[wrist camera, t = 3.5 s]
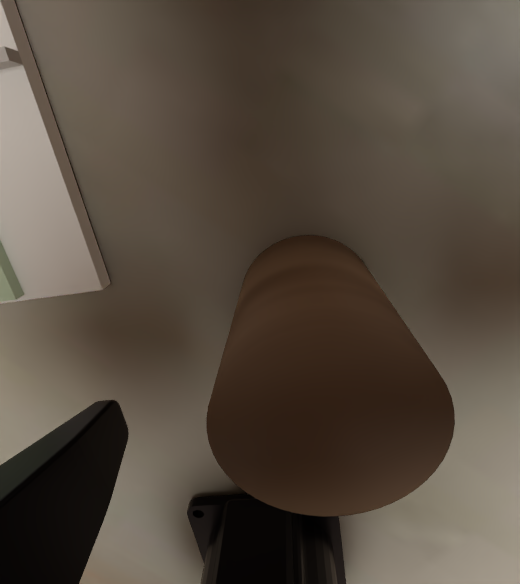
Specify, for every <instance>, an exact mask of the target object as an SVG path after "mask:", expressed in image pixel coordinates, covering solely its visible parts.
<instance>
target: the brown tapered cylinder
mask: <svg viewBox="0 0 520 584" xmlns="http://www.w3.org/2000/svg"><path fill="white" fill-rule="evenodd" d="M454 425H455V420H454V407H453V402H452V398H451V395H450V393H449V390H448V388H447V385H446V384H445V382H444V380H443V379H442V377H441V376H440V374H439V372H438V371H437V370H436V368H435V367H434V365H433V364H432V362H431V361H430V359H429V358H428V356H427V355H426V353H425V352H424V351H423V349H422V348H421V346H420V345H419V343H418V342H417V340H416V339H415V337H414V336H413V334H412V333H411V332H410V330H409V329H408V327H407V326H406V324H405V323H404V321H403V320H402V318H401V317H400V315H399V314H398V313H397V311H396V310H395V308H394V307H393V305H392V304H391V302H390V301H389V299H388V298H387V296H386V295H385V294H384V292H383V291H382V289H381V288H380V286H379V285H378V283H377V282H376V280H375V279H374V278H373V276H372V275H371V273H370V272H369V270H368V269H367V267H366V266H365V264H364V263H363V261H362V260H361V259H360V258H359V257H358V255H357V254H356V253H354V252H353V251H352V250H351V249H350V248H348V247H347V246H345V245H344V244H342V243H340V242H338V241H336V240H333V239H330V238H327V237H322V236H314V235H304V236H296V237H291V238H288V239H285V240H282V241H279V242H277V243H275V244H273V245H272V246H270V247H269V248H267V249H266V250H265V251H263V252H262V253H261V254H260V255H259V256H258V257H257V258H256V259H255V261H254V262H253V263H252V265H251V266H250V268H249V269H248V271H247V273H246V276H245V278H244V282H243V285H242V288H241V292H240V296H239V299H238V303H237V306H236V310H235V313H234V317H233V320H232V324H231V328H230V331H229V335H228V338H227V342H226V345H225V349H224V352H223V356H222V360H221V363H220V367H219V370H218V374H217V377H216V381H215V384H214V388H213V392H212V395H211V399H210V402H209V406H208V412H207V434H208V440H209V444H210V447H211V449H212V452H213V455H214V456H215V458H216V460H217V462H218V464H219V465H220V467H221V468H222V469H223V471H224V472H225V473H226V475H227V476H228V477H229V478H230V479H231V480H232V481H233V482H234V483H235V484H236V485H238V486H239V487H240V488H241V489H243V490H244V491H245V492H247V493H248V494H250V495H251V496H253V497H255V498H256V499H258V500H260V501H262V502H264V503H266V504H268V505H271V506H274V507H276V508H279V509H282V510H286V511H289V512H293V513H298V514H304V515H312V516H344V515H353V514H358V513H363V512H367V511H371V510H374V509H378V508H381V507H383V506H386V505H388V504H391V503H393V502H395V501H397V500H399V499H401V498H403V497H405V496H406V495H408V494H409V493H411V492H412V491H414V490H415V489H417V488H418V487H419V486H420V485H421V484H423V483H424V482H425V481H426V480H427V479H428V478H429V477H430V476H431V475H432V474H433V473H434V472H435V471H436V469H437V468H438V466H439V465H440V464H441V462H442V461H443V459H444V457H445V455H446V453H447V451H448V449H449V446H450V443H451V440H452V437H453V431H454Z"/></svg>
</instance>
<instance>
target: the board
mask: <svg viewBox="0 0 520 584" xmlns="http://www.w3.org/2000/svg"><path fill="white" fill-rule="evenodd" d="M109 284H111V283H110V280H109V277H108V274H107V271H106V268H105V265H104V262H103V259H102V256H101V253H100V250H99V247H98V244H97V242H96V239H95V236H94V233H93V230H92V227H91V224H90V221H89V218H88V215H87V212H86V209H85V206H84V203H83V200H82V198H81V195H80V192H79V189H78V186H77V183H76V180H75V177H74V174H73V171H72V168H71V165H70V162H69V159H68V156H67V154H66V151H65V148H64V145H63V142H62V139H61V136H60V133H59V130H58V127H57V124H56V121H55V118H54V115H53V112H52V110H51V107H50V104H49V101H48V98H47V95H46V92H45V89H44V86H43V83H42V80H41V77H40V74H39V71H38V68H37V65H36V63H35V60H34V57H33V54H32V51H31V48H30V45H29V42H28V39H27V36H26V33H25V30H24V27H23V24H22V21H21V19H20V16H19V13H18V10H17V7H16V4H15V1H14V0H0V304H1V303H9V302H16V301H24V300H31V299H39V298H46V297H54V296H61V295H69V294H76V293H84V292H91V291H99V290H103V289H104V288H106V287H107V286H108V285H109Z"/></svg>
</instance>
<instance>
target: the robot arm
mask: <svg viewBox="0 0 520 584" xmlns="http://www.w3.org/2000/svg"><path fill="white" fill-rule="evenodd" d="M127 441H128V427H127V424H126V421H125V419H124V416H123V413H122V411H121V408H120V405H119V403H118V402H117V401H115V400H105V401H98V402H96V403H94V404H92V405H91V406H89V407H88V408H86V409H85V410H83V411H82V412H80V413H79V414H77V415H76V416H74V417H73V418H71V419H70V420H68V421H67V422H65V423H64V424H62V425H61V426H59V427H58V428H56V429H55V430H53V431H52V432H50V433H49V434H47V435H46V436H44V437H43V438H41V439H40V440H38V441H37V442H35V443H34V444H32V445H31V446H29V447H28V448H26V449H25V450H23V451H21V452H20V453H18V454H17V455H15V456H14V457H12V458H11V459H9V460H8V461H6V462H5V463H3V464H2V465H0V584H79V582H80V579H81V577H82V574H83V572H84V569H85V567H86V564H87V561H88V559H89V556H90V554H91V551H92V549H93V546H94V543H95V541H96V538H97V536H98V533H99V531H100V528H101V525H102V523H103V520H104V518H105V515H106V512H107V509H108V506H109V503H110V500H111V497H112V494H113V490H114V487H115V483H116V479H117V476H118V472H119V469H120V465H121V462H122V458H123V455H124V451H125V448H126V444H127ZM187 515H188V518H189V521H190V524H191V527H192V530H193V532H194V535H195V538H196V541H197V544H198V547H199V550H200V553H201V556H202V559H203V562H204V568H203V574H202V579H201V584H346V578H345V569H344V560H343V551H342V542H341V533H340V524H339V516H312V515H304V514H298V513H293V512H289V511H286V510H282V509H279V508H276V507H274V506H271V505H268V504H266V503H264V502H262V501H260V500H258V499H256V498H255V497H253V496H251V495H250V494H248V495H231V496H215V497H198V498H194V499H192V500H191V501H190V503H189V506H188V510H187Z"/></svg>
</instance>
